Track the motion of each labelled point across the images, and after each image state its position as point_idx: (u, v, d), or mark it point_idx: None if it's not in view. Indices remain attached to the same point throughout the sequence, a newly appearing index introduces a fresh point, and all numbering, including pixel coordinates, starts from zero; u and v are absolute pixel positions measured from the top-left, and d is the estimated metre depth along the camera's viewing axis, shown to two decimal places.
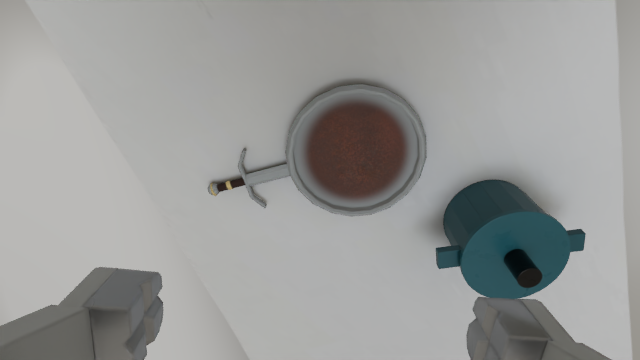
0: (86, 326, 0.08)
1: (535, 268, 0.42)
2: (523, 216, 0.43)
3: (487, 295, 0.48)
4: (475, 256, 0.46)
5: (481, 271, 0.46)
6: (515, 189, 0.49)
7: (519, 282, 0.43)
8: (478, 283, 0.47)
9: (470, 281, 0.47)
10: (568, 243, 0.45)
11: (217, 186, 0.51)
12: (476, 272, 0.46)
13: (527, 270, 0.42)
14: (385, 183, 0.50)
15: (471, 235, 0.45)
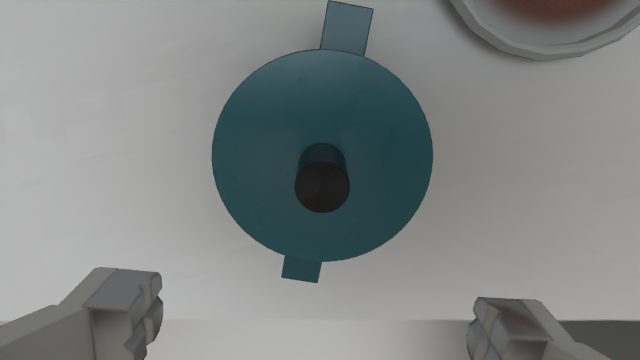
0: (86, 326, 0.08)
1: (343, 201, 0.19)
2: (415, 192, 0.23)
3: (238, 93, 0.21)
4: (356, 87, 0.21)
5: (309, 91, 0.21)
6: None
7: (318, 164, 0.18)
8: (278, 79, 0.20)
9: (289, 63, 0.20)
10: (323, 259, 0.24)
11: None
12: (311, 81, 0.20)
13: (346, 185, 0.19)
14: None
15: (408, 89, 0.21)
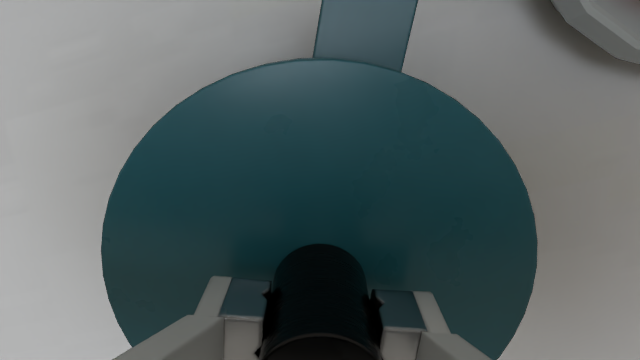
0: (221, 336, 0.08)
1: None
2: (496, 329, 0.12)
3: (144, 149, 0.10)
4: (390, 138, 0.10)
5: (293, 146, 0.10)
6: None
7: (312, 342, 0.07)
8: (228, 122, 0.10)
9: (250, 88, 0.09)
10: None
11: None
12: (297, 124, 0.10)
13: None
14: None
15: None
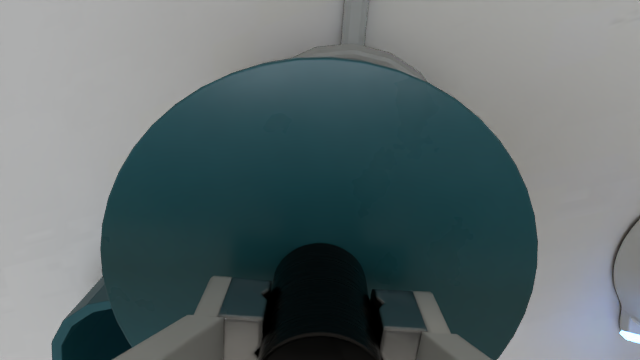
0: (221, 335, 0.08)
1: None
2: (496, 329, 0.12)
3: (143, 148, 0.10)
4: (389, 137, 0.10)
5: (293, 145, 0.10)
6: None
7: (311, 341, 0.07)
8: (227, 121, 0.10)
9: (249, 87, 0.09)
10: None
11: None
12: (297, 123, 0.10)
13: None
14: None
15: None
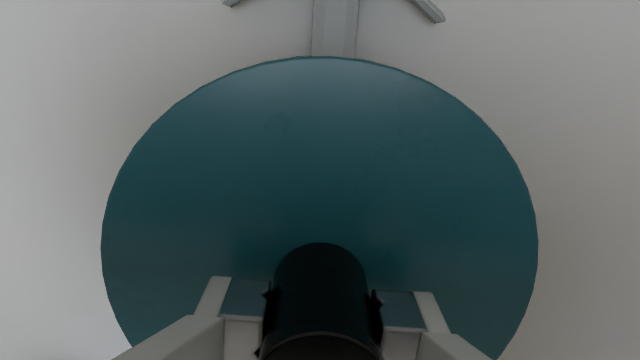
0: (221, 335, 0.08)
1: None
2: (497, 328, 0.12)
3: (143, 148, 0.10)
4: (390, 137, 0.10)
5: (293, 144, 0.10)
6: None
7: (312, 340, 0.07)
8: (228, 120, 0.10)
9: (249, 86, 0.09)
10: None
11: None
12: (297, 123, 0.10)
13: None
14: None
15: None
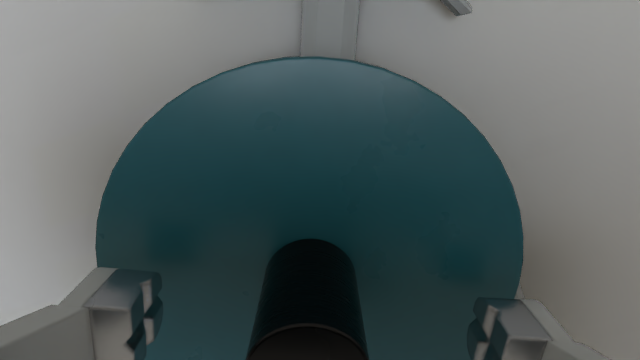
0: (86, 326, 0.08)
1: None
2: None
3: (136, 147, 0.10)
4: (377, 135, 0.10)
5: (283, 143, 0.10)
6: None
7: (298, 332, 0.08)
8: (218, 119, 0.10)
9: (239, 86, 0.10)
10: None
11: None
12: (286, 121, 0.10)
13: None
14: None
15: None
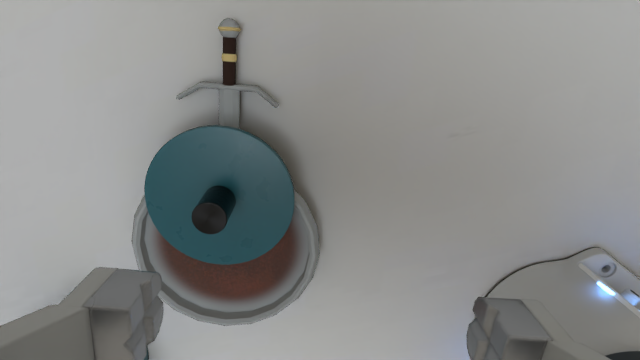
0: (86, 326, 0.08)
1: (224, 227, 0.30)
2: (284, 218, 0.33)
3: (160, 153, 0.31)
4: (238, 150, 0.31)
5: (208, 153, 0.31)
6: None
7: (205, 204, 0.29)
8: (186, 145, 0.31)
9: (193, 135, 0.31)
10: (225, 262, 0.35)
11: (233, 38, 0.31)
12: (208, 146, 0.31)
13: (224, 217, 0.29)
14: (174, 266, 0.38)
15: (274, 151, 0.32)
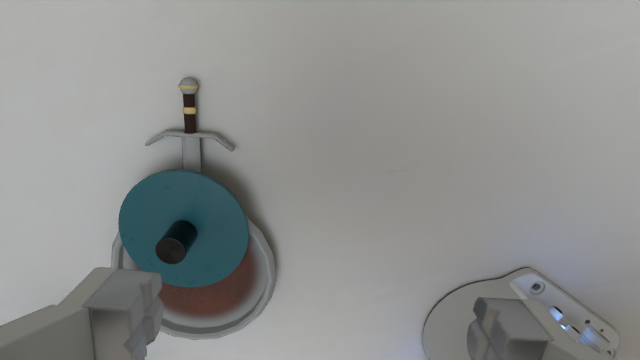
0: (86, 326, 0.08)
1: (183, 258, 0.35)
2: (240, 247, 0.38)
3: (130, 194, 0.36)
4: (197, 190, 0.36)
5: (171, 193, 0.36)
6: None
7: (166, 239, 0.34)
8: (153, 186, 0.36)
9: (158, 178, 0.36)
10: (191, 285, 0.40)
11: (191, 94, 0.36)
12: (171, 187, 0.36)
13: (183, 250, 0.34)
14: None
15: (228, 190, 0.37)
